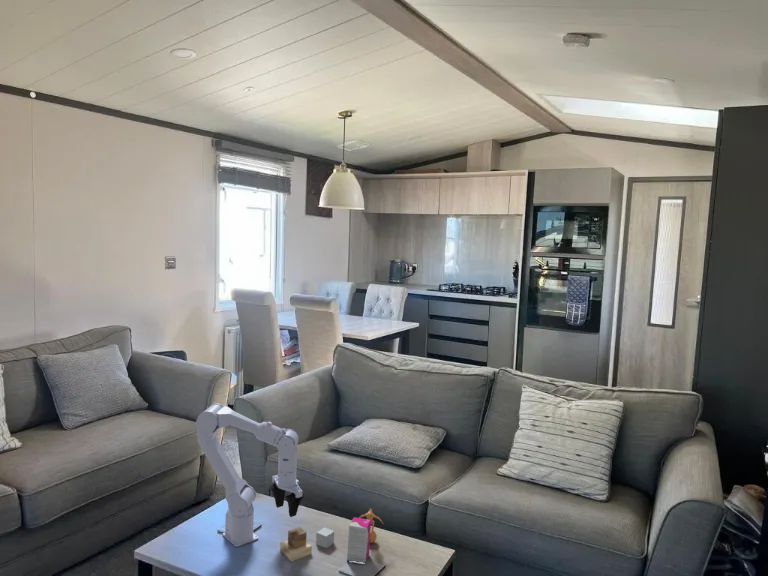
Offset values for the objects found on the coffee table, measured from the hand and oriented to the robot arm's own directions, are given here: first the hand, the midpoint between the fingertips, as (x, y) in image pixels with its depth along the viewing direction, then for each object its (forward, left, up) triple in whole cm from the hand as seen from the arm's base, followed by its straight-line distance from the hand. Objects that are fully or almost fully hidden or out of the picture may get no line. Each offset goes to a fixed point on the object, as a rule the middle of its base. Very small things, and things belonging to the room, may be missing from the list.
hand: (286, 511), depth 175 cm
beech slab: (+7, -1, -10) cm, 13 cm away
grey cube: (+9, +9, -10) cm, 16 cm away
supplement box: (+22, +12, -10) cm, 27 cm away
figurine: (+18, +20, -10) cm, 29 cm away
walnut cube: (+7, -1, -7) cm, 11 cm away
